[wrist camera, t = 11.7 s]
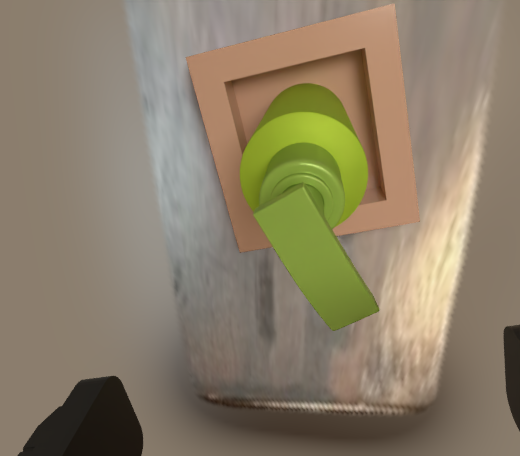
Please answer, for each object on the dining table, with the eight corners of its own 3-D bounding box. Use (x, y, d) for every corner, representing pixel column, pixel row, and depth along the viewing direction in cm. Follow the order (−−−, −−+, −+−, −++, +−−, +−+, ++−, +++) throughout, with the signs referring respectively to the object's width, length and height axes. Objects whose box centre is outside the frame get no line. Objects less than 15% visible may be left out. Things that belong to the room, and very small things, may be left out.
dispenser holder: (198, 55, 33) (185, 57, 29) (385, 6, 30) (394, 3, 27) (246, 233, 37) (239, 252, 34) (409, 204, 35) (419, 221, 32)
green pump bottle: (298, 190, 35) (284, 361, 17) (249, 111, 33) (173, 206, 15) (368, 151, 33) (439, 294, 15) (321, 66, 31) (336, 109, 13)
